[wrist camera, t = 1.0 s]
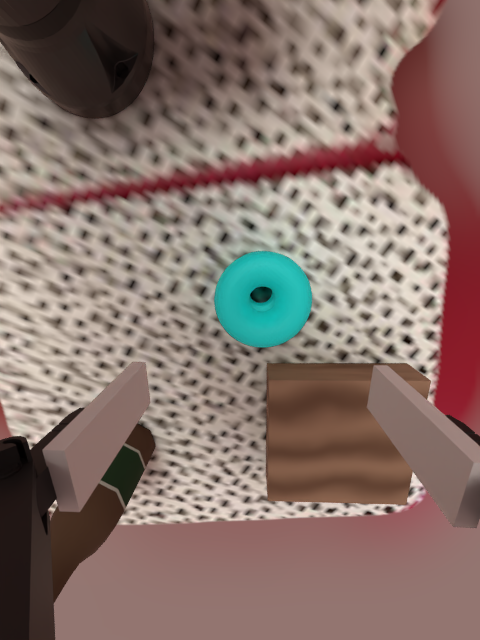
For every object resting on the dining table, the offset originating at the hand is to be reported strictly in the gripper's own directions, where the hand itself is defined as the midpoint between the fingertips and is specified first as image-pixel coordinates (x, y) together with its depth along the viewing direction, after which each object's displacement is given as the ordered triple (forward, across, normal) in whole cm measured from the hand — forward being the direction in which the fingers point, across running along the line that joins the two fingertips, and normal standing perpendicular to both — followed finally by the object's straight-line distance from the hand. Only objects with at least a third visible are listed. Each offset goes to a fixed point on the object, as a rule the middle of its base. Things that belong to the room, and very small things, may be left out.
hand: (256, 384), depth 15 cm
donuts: (+21, +1, +2) cm, 21 cm away
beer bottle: (+21, -20, -23) cm, 37 cm away
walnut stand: (+21, +12, -19) cm, 30 cm away
